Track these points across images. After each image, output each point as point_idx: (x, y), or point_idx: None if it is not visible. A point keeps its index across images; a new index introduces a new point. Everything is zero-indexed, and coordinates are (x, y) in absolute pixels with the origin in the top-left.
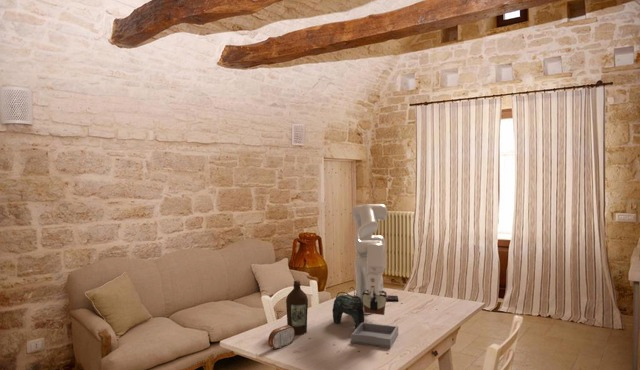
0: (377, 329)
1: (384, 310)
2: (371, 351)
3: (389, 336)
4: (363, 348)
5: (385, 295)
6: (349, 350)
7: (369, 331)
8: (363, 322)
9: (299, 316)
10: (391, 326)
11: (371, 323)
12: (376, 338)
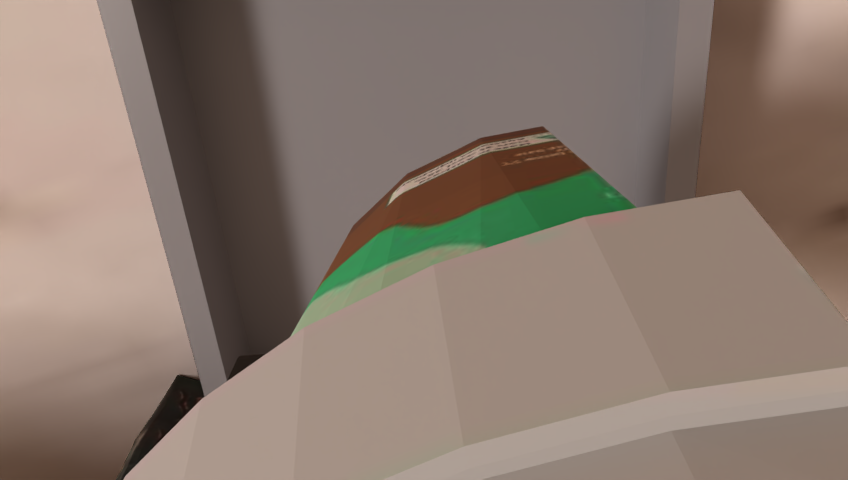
0: (215, 225)
1: (565, 146)
2: (831, 86)
3: (334, 15)
4: (759, 195)
5: (783, 441)
6: (845, 299)
7: (288, 292)
8: (167, 424)
9: None
10: (143, 45)
11: (189, 332)
12: (699, 102)
